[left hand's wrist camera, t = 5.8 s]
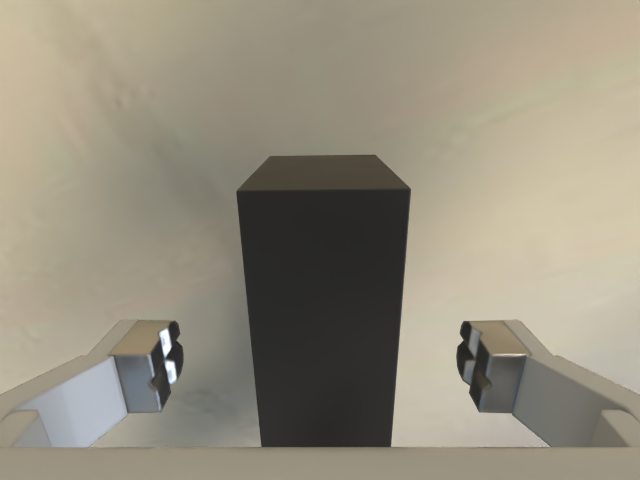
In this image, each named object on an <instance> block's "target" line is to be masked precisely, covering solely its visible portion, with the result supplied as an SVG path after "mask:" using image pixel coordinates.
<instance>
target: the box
mask: <svg viewBox="0 0 640 480" xmlns="http://www.w3.org/2000/svg"><path fill="white" fill-rule="evenodd" d="M410 195H411V189H410V188H409V187H408V186H407V185H406V184H405V183H404V182H403V181H402V180H401V179H400V178H399V177H398V176H397V175H396V174H395V173H394V172H393V171H392V170H391V169H390V168H388V167H387V166H386V165H385V164H384V163H383V162H382V161H381V160H380V159H379V158H378V157H377V156H376V155H325V156H270V157H269V158H268V159H267V160H266V161H265V162H264V163H263V164H262V165H261V166H260V167H259V168H258V169H257V170H256V171H255V172H254V173H253V174H252V175H251V177H250V178H249V179H248V180H247V181H246V182H245V183H244V184H243V185H242V186H241V187H240V188H239V189H238V190H237V203H238V213H239V223H240V233H241V243H242V253H243V264H244V274H245V284H246V294H247V304H248V314H249V325H250V335H251V345H252V355H253V365H254V375H255V386H256V396H257V406H258V416H259V426H260V436H261V447H391V439H392V426H393V413H394V400H395V387H396V375H397V362H398V349H399V336H400V323H401V310H402V298H403V285H404V272H405V259H406V246H407V234H408V221H409V208H410Z"/></svg>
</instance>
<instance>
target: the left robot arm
mask: <svg viewBox="0 0 640 480" xmlns="http://www.w3.org/2000/svg"><path fill="white" fill-rule="evenodd" d="M179 335H180V330H179V326H178V323H177V322H176V321H169V320H122V321H119V322H118V323H117V324H116V325H115V326H114V327H113V328H112V329H111V330H110V331H109V332H108V334H107V335H106V336H105V337H104V338H103V339H102V340H101V341H100V342H99V343H98V344H97V345H96V346H95V348H94V349H93V350H92V351H91V352H90V353H89V354H88V355H87V356H79V357H77V358H75V359H73V360H71V361H69V362H67V363H65V364H63V365H61V366H59V367H57V368H55V369H53V370H50V371H48V372H46V373H44V374H42V375H40V376H38V377H36V378H34V379H32V380H30V381H28V382H26V383H23V384H21V385H19V386H17V387H15V388H13V389H11V390H9V391H7V392H5V393H3V394H1V395H0V480H640V395H639V394H637V393H635V392H633V391H631V390H629V389H627V388H625V387H623V386H621V385H618V384H616V383H614V382H612V381H610V380H608V379H606V378H604V377H602V376H600V375H598V374H596V373H594V372H592V371H589V370H587V369H585V368H583V367H581V366H579V365H577V364H575V363H573V362H571V361H569V360H567V359H565V358H563V357H561V356H553V355H552V354H551V353H550V352H549V351H548V350H547V349H546V348H545V346H544V345H543V344H542V343H541V342H540V341H539V340H538V339H537V338H536V337H535V336H534V335H533V334H532V332H531V331H530V330H529V329H528V328H527V327H526V326H525V325H524V324H523V323H522V322H521V321H519V320H497V321H463V323H462V325H461V330H460V335H461V336H462V338H463V340H464V341H463V342H462V343H461V344H460V345H459V346H458V348H457V356H456V358H457V367H458V371H459V374H460V376H461V378H462V380H463V381H464V382H466V383H467V384H468V385H470V390H469V394H470V396H471V397H472V399H473V401H474V403H475V405H476V407H477V409H478V411H479V412H486V413H512V415H513V416H514V417H515V418H517V419H518V420H519V421H520V422H521V423H523V424H524V425H525V426H526V427H527V428H529V429H530V430H531V431H532V432H534V433H535V434H536V435H537V436H538V437H540V438H541V439H542V440H543V441H544V442H546V443H547V444H548V445H549V446H551V447H90V446H91V445H92V444H93V443H94V442H96V441H97V440H98V439H99V438H100V437H102V436H103V435H104V434H105V433H107V432H108V431H109V430H110V429H111V428H113V427H114V426H115V425H116V424H118V423H119V422H120V421H121V420H122V419H124V418H125V417H126V416H127V415H128V413H153V412H161V411H162V409H163V407H164V405H165V403H166V401H167V399H168V397H169V396H170V394H171V390H170V385H172V384H173V383H174V382H176V381H177V380H178V378H179V376H180V374H181V371H182V366H183V348H182V346H181V345H180V344H179V343H178V342H177V341H176V340H177V338H178V336H179Z"/></svg>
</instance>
